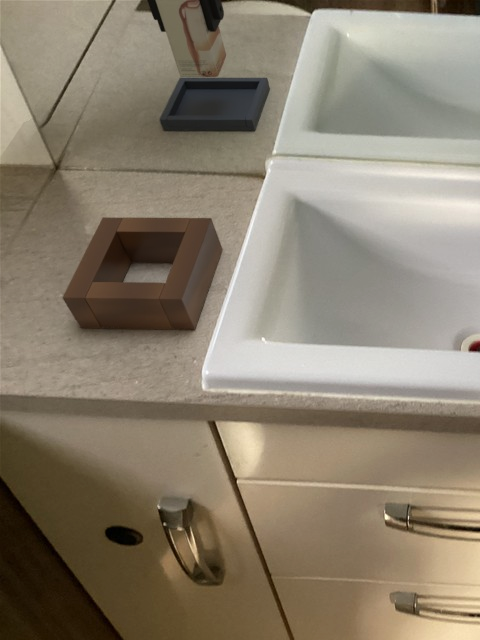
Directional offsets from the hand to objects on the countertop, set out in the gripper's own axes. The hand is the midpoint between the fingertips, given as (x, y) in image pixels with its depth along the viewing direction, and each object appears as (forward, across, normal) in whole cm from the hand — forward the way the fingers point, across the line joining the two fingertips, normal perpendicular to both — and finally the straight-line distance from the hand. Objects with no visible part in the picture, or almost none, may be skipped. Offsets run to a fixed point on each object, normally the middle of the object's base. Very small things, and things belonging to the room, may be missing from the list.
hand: (191, 23), depth 85 cm
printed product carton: (+5, 0, 0) cm, 5 cm away
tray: (+10, 0, 0) cm, 10 cm away
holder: (+10, -1, +29) cm, 31 cm away
